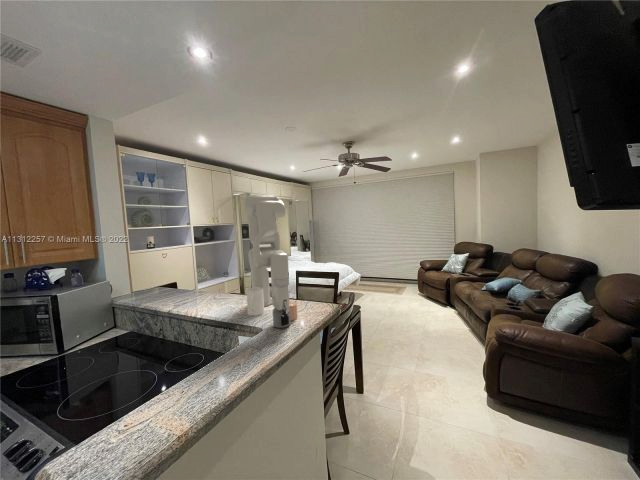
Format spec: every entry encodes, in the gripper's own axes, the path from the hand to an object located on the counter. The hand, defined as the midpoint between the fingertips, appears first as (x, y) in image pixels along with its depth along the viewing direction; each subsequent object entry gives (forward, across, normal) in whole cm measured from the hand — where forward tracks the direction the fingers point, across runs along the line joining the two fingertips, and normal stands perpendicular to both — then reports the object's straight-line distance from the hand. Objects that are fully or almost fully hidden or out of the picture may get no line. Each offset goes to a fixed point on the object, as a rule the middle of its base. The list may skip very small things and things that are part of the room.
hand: (281, 321), depth 110 cm
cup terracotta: (+2, -6, +6) cm, 9 cm away
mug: (+3, -21, -6) cm, 23 cm away
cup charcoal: (+1, 0, 0) cm, 1 cm away
